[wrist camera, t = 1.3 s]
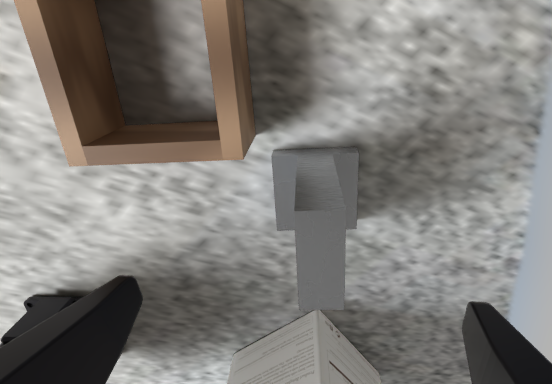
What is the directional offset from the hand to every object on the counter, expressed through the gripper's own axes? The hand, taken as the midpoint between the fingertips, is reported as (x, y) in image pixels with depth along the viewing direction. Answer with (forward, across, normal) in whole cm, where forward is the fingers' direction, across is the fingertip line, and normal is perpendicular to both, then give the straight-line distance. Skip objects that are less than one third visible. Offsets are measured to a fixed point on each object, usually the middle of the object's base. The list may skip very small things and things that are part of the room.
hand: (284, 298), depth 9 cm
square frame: (+12, +8, -5) cm, 16 cm away
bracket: (+13, +1, +4) cm, 13 cm away
